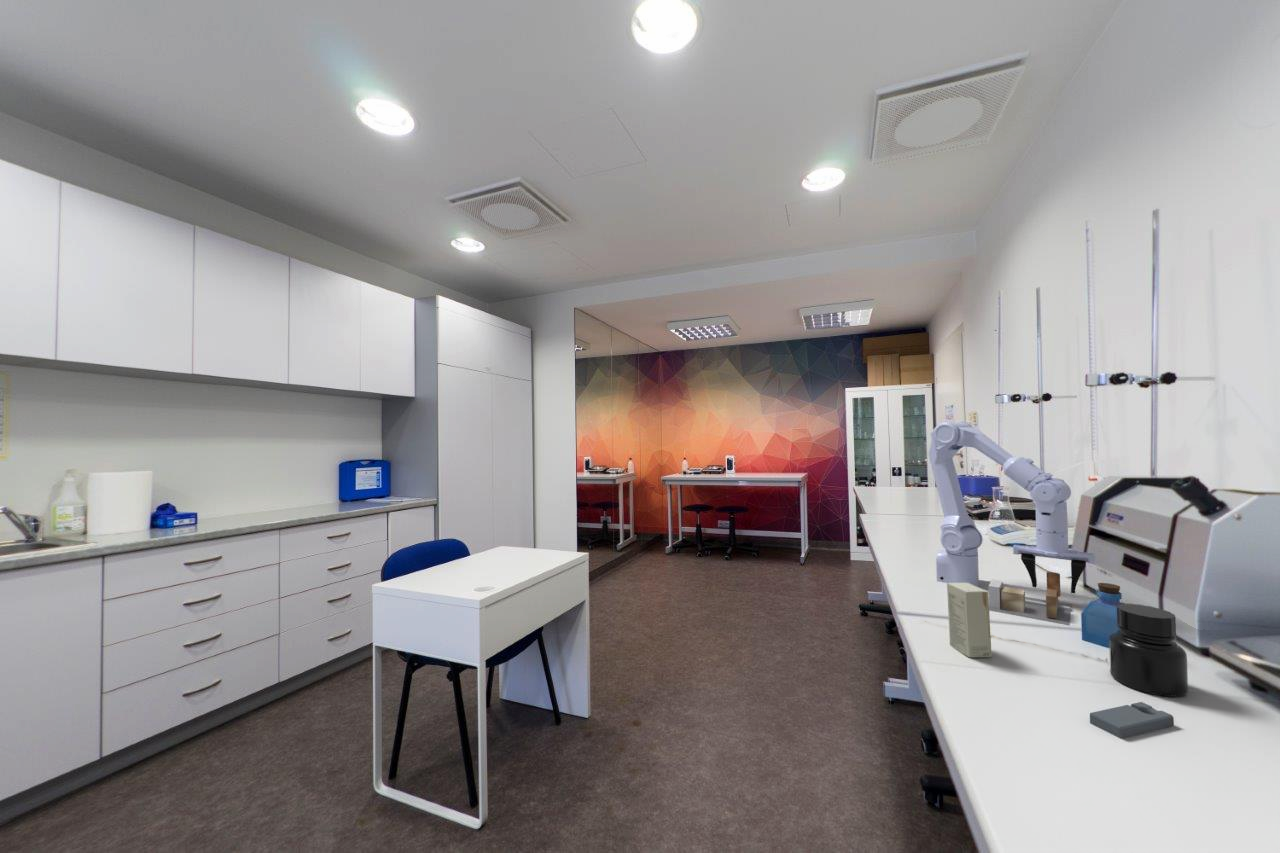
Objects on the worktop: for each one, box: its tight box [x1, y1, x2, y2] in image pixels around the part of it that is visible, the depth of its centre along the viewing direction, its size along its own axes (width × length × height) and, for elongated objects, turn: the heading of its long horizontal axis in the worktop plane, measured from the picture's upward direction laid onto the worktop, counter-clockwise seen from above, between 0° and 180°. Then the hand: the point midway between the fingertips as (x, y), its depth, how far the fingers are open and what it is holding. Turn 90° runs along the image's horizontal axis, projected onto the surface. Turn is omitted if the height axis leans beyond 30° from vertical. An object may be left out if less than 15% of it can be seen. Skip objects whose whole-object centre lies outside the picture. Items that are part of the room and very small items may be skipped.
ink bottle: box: [1108, 603, 1189, 697], centre depth 81 cm, size 10×9×12 cm
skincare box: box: [946, 583, 993, 658], centre depth 94 cm, size 6×4×12 cm
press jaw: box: [1045, 571, 1061, 618], centre depth 111 cm, size 2×13×7 cm, turn 138°
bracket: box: [1089, 701, 1175, 739], centre depth 70 cm, size 4×10×2 cm, turn 104°
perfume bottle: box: [1080, 582, 1126, 649], centre depth 94 cm, size 6×6×12 cm
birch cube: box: [1001, 586, 1026, 613], centre depth 113 cm, size 4×4×4 cm
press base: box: [988, 579, 1072, 627], centre depth 113 cm, size 14×16×6 cm
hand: (1053, 589), depth 115 cm, fingers open, 6 cm apart
